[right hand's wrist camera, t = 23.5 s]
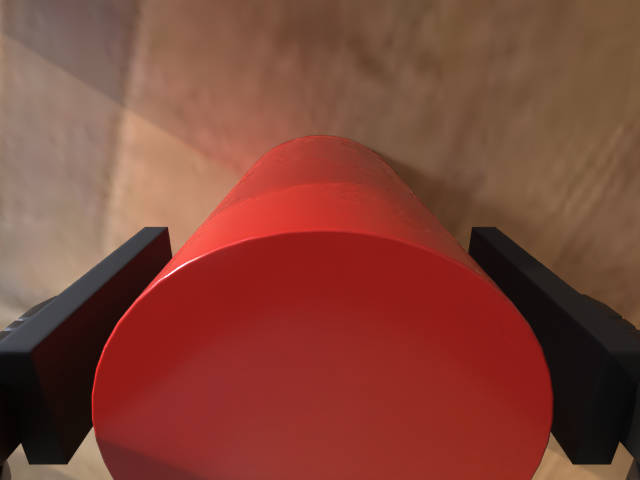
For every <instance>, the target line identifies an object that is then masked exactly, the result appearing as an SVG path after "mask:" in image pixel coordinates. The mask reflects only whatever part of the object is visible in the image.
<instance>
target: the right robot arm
mask: <svg viewBox="0 0 640 480" xmlns="http://www.w3.org/2000/svg"><path fill="white" fill-rule="evenodd" d="M468 254H469V255H470V256H471V257H472V258H473V259H474V260H475V262H476V263H477V264H478V265H479V266H480V267H481V268H482V269H483V270H484V272H485V273H486V274H487V275H488V276H489V277H490V278H491V279H492V280H493V282H494V283H495V284H496V285H497V286H498V287H499V288H500V289H501V290H502V292H503V293H504V294H505V295H506V296H507V297H508V298H509V299H510V300H511V302H512V303H513V304H514V305H515V307H516V308H517V309H518V310H519V312H520V313H521V314H522V315H523V317H524V318H525V319H526V321H527V322H528V323H529V325H530V326H531V328H532V330H533V332H534V334H535V336H536V338H537V339H538V341H539V343H540V345H541V347H542V349H543V352H544V355H545V358H546V361H547V364H548V367H549V370H550V376H551V382H552V389H553V396H554V401H553V422H552V427H551V433H552V434H553V436H554V437H555V439H556V440H557V442H558V443H559V445H560V446H561V448H562V449H563V451H564V452H565V453H566V455H567V456H568V458H569V459H570V461H571V462H572V464H611V463H612V460H613V457H614V455H615V452H616V449H617V447H618V444H619V441H620V442H621V443H622V445H623V446H624V447H625V448H626V449H627V450H628V452H629V453H630V454H631V455H632V456H633V457H634V460H633V462H632V465H631V467H630V470H629V472H628V475H627V477H626V480H640V330H636V329H635V326H634V325H632V324H631V323H630V322H628V321H627V320H626V319H622V316H620V315H619V314H618V313H616V312H615V311H614V310H612V309H611V308H610V307H608V306H607V305H605V304H603V303H601V302H599V301H597V300H595V299H593V298H591V297H589V296H587V295H581V294H579V293H578V292H577V291H576V290H574V289H573V288H572V287H570V286H569V285H568V284H567V283H565V282H564V281H563V280H562V279H560V278H559V277H558V276H557V275H555V274H554V273H553V272H551V271H550V270H549V269H548V268H546V267H545V266H544V265H543V264H541V263H540V262H539V261H537V260H536V259H535V258H534V257H532V256H531V255H530V254H529V253H527V252H526V251H525V250H524V249H522V248H521V247H520V246H518V245H517V244H516V243H515V242H513V241H512V240H511V239H510V238H508V237H507V236H506V235H504V234H503V233H502V232H501V231H499V230H498V229H497V228H496V227H472V232H471V238H470V245H469V252H468ZM171 259H172V252H171V245H170V238H169V232H168V227H144V228H143V229H142V230H141V231H139V232H138V233H137V234H136V235H134V236H133V237H132V238H130V239H129V240H128V241H127V242H125V243H124V244H123V245H122V246H120V247H119V248H118V249H117V250H115V251H114V252H113V253H111V254H110V255H109V256H108V257H106V258H105V259H104V260H103V261H101V262H100V263H99V264H97V265H96V266H95V267H94V268H92V269H91V270H90V271H89V272H87V273H86V274H85V275H84V276H82V277H81V278H80V279H78V280H77V281H76V282H75V283H73V284H72V285H71V286H70V287H68V288H67V289H66V290H64V291H63V292H62V293H61V294H59V295H58V296H55V297H53V298H50V299H48V300H46V301H44V302H42V303H40V304H38V305H36V306H34V307H33V308H31V309H30V310H29V311H27V312H26V313H25V314H24V315H22V316H21V317H20V318H19V320H18V321H14V322H13V323H12V324H10V325H9V326H8V327H6V328H5V331H1V332H0V480H11V472H10V467H9V465H8V462H7V459H8V457H9V456H10V455H11V454H12V453H13V452H14V450H15V449H16V448H17V447H18V446H19V444H20V443H21V444H22V447H23V449H24V452H25V455H26V457H27V460H28V463H29V464H68V462H69V461H70V459H71V458H72V456H73V455H74V453H75V452H76V451H77V449H78V448H79V446H80V445H81V443H82V442H83V440H84V439H85V437H86V436H87V434H88V433H89V431H90V430H91V428H92V427H93V420H92V391H93V385H94V379H95V373H96V368H97V366H98V363H99V360H100V357H101V354H102V352H103V349H104V346H105V344H106V342H107V340H108V339H109V337H110V335H111V333H112V332H113V330H114V328H115V326H116V325H117V323H118V321H119V320H120V319H121V318H122V316H123V315H124V314H125V313H126V312H127V310H128V309H129V308H130V307H131V305H132V304H133V303H134V302H135V300H136V299H137V298H138V297H139V296H140V295H141V294H142V292H143V291H144V290H145V289H146V288H147V287H148V286H149V284H150V283H151V282H152V281H153V280H154V279H155V277H156V276H157V275H158V274H159V273H160V272H161V271H162V269H163V268H164V267H165V266H166V265H167V264H168V263H169V261H170V260H171Z"/></svg>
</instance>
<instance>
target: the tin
mask: <svg viewBox="0 0 640 480" xmlns="http://www.w3.org/2000/svg"><path fill="white" fill-rule="evenodd" d="M553 401H554V396H553V389H552V382H551V376H550V370H549V367H548V364H547V361H546V358H545V355H544V352H543V349H542V347H541V345H540V343H539V341H538V339H537V338H536V336H535V334H534V332H533V330H532V328H531V326H530V325H529V323H528V322H527V321H526V319H525V318H524V317H523V315H522V314H521V313H520V312H519V310H518V309H517V308H516V307H515V305H514V304H513V303H512V302H511V300H510V299H509V298H508V297H507V296H506V295H505V294H504V293H503V292H502V290H501V289H500V288H499V287H498V286H497V285H496V284H495V283H494V282H493V280H492V279H491V278H490V277H489V276H488V275H487V274H486V273H485V272H484V270H483V269H482V268H481V267H480V266H479V265H478V264H477V263H476V262H475V260H474V259H473V258H472V257H471V256H470V255H469V254H468V253H467V252H466V250H465V249H464V248H463V247H462V246H461V245H460V244H459V243H458V242H457V240H456V239H455V238H454V237H453V236H452V235H451V234H450V233H449V232H448V230H447V229H446V228H445V227H444V226H443V225H442V224H441V223H440V222H439V220H438V219H437V218H436V217H435V216H434V215H433V214H432V213H431V212H430V211H429V209H428V208H427V207H426V206H425V205H424V204H423V203H422V202H421V201H420V199H419V198H418V197H417V196H416V195H415V194H414V193H413V192H412V191H411V189H410V188H409V187H408V186H407V185H406V184H405V183H404V182H403V181H402V179H401V178H400V177H399V176H398V175H397V174H396V173H395V172H394V171H393V169H392V168H391V167H390V166H389V165H388V164H387V163H386V162H385V161H384V160H383V159H382V158H381V157H380V156H379V155H377V154H376V153H374V152H373V151H372V150H370V149H369V148H367V147H365V146H363V145H361V144H359V143H357V142H354V141H352V140H349V139H346V138H341V137H336V136H327V135H315V136H306V137H301V138H296V139H293V140H291V141H288V142H285V143H283V144H281V145H279V146H277V147H275V148H273V149H272V150H271V151H269V152H268V153H266V154H265V155H264V156H262V157H261V158H260V159H259V160H258V161H257V162H256V163H255V164H254V165H253V166H252V168H251V169H250V170H249V171H248V172H247V173H246V174H245V176H244V177H243V178H242V179H241V180H240V181H239V182H238V184H237V185H236V186H235V187H234V188H233V189H232V190H231V192H230V193H229V194H228V195H227V196H226V197H225V198H224V200H223V201H222V202H221V203H220V204H219V205H218V206H217V208H216V209H215V210H214V211H213V212H212V213H211V215H210V216H209V217H208V218H207V219H206V220H205V221H204V223H203V224H202V225H201V226H200V227H199V228H198V229H197V231H196V232H195V233H194V234H193V235H192V236H191V237H190V239H189V240H188V241H187V242H186V243H185V244H184V245H183V247H182V248H181V249H180V250H179V251H178V252H177V253H176V255H175V256H174V257H173V258H172V259H171V260H170V261H169V263H168V264H167V265H166V266H165V267H164V268H163V269H162V271H161V272H160V273H159V274H158V275H157V276H156V277H155V279H154V280H153V281H152V282H151V283H150V284H149V286H148V287H147V288H146V289H145V290H144V291H143V292H142V294H141V295H140V296H139V297H138V298H137V299H136V300H135V302H134V303H133V304H132V305H131V307H130V308H129V309H128V310H127V312H126V313H125V314H124V315H123V316H122V318H121V319H120V320H119V321H118V323H117V325H116V326H115V328H114V330H113V332H112V333H111V335H110V337H109V339H108V340H107V342H106V344H105V346H104V349H103V352H102V354H101V357H100V360H99V363H98V366H97V368H96V373H95V379H94V385H93V391H92V420H93V426H94V431H95V436H96V441H97V444H98V447H99V450H100V452H101V455H102V458H103V461H104V463H105V465H106V467H107V469H108V470H109V472H110V474H111V476H112V478H113V480H531V479H532V477H533V476H534V474H535V472H536V470H537V469H538V467H539V465H540V463H541V460H542V458H543V455H544V453H545V450H546V447H547V445H548V441H549V437H550V432H551V427H552V422H553Z"/></svg>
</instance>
